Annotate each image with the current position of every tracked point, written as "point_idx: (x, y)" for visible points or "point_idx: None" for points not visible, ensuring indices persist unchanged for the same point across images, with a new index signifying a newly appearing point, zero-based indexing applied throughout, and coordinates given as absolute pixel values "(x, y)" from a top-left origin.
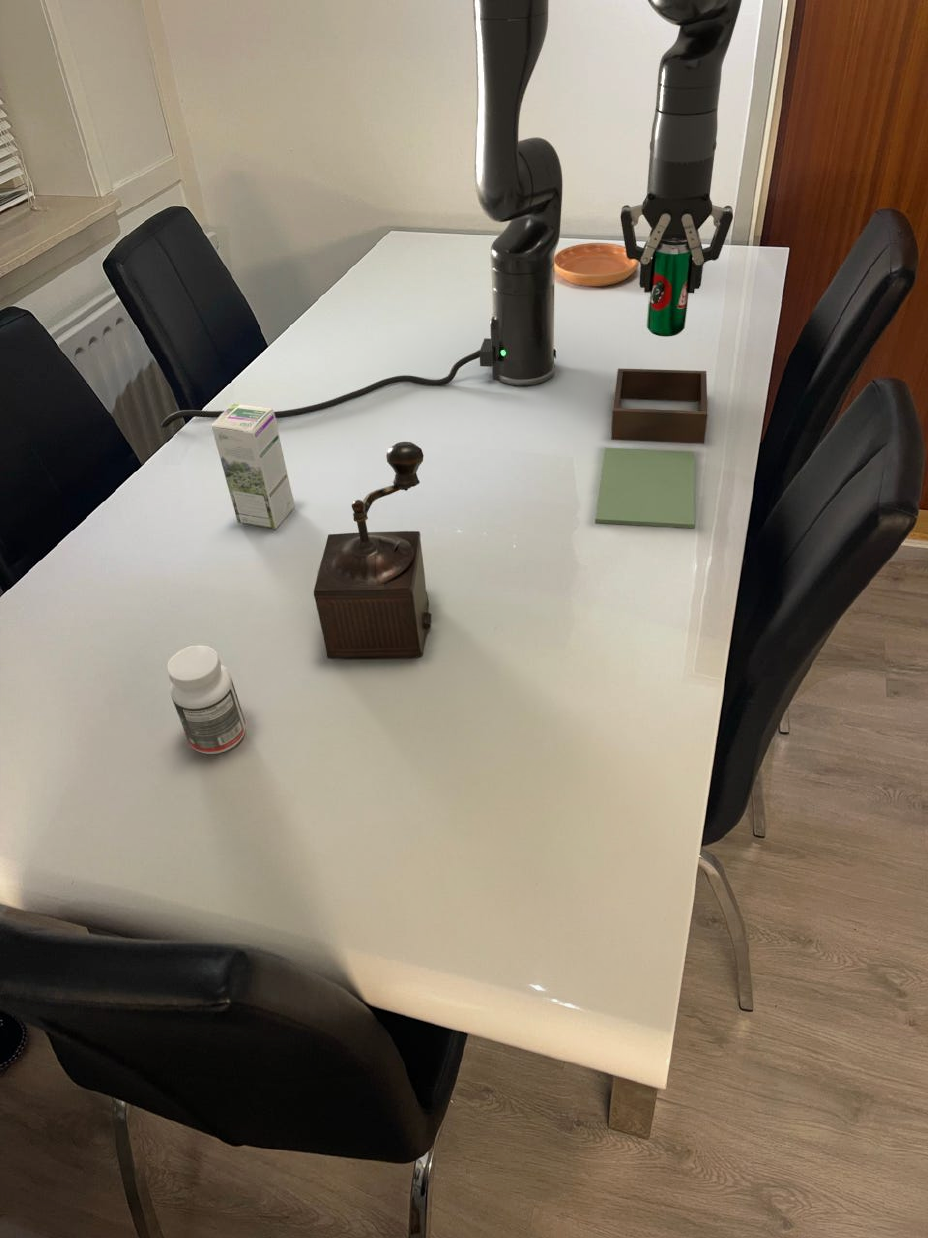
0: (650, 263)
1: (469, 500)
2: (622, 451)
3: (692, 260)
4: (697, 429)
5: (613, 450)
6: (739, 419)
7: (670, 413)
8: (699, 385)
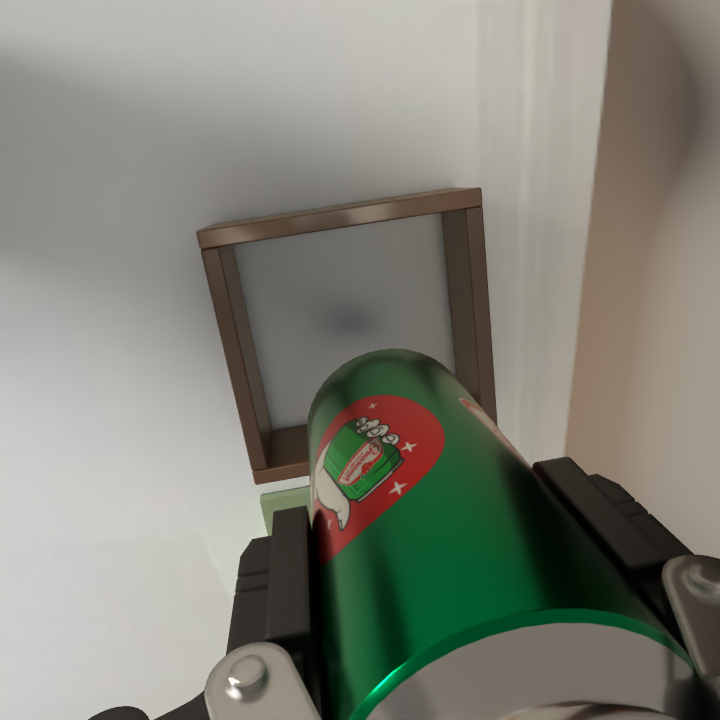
0: (317, 711)
1: (54, 715)
2: (303, 504)
3: (632, 587)
4: None
5: (282, 506)
6: (549, 278)
7: None
8: (455, 213)
